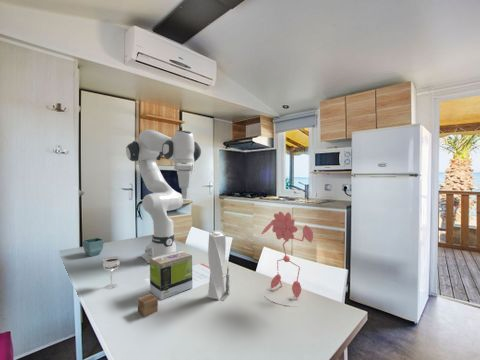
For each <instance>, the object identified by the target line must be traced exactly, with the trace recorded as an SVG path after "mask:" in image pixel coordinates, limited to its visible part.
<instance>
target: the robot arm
mask: <svg viewBox="0 0 480 360" xmlns="http://www.w3.org/2000/svg"><path fill="white" fill-rule="evenodd" d="M201 153H202V150H201V147H200V145H199V143H197V141H195V137H194V134H193V132H191V131H187V130H182V129H181V130H180V129H179V130H176V131H175V132H174V135H173V136H172V137H171V136H168V135H166V134H164V133H162V132H159V131H157V130H154V129H144V130H142V131H141V132H140V133H139V135H138V141H135V140H132V142H130V143H129V144H127V146H126V148H125V154H126V156H127V157H126V158H128V160H129V161H131V162H138V161H139V163H138V168H139V169H138V170H139V173H140V176H141V178H142V180H143V184H145V187H146V189H147V190H148V191H149V192H151V193H149V194H146V195H145V196H144V197H143V198H142V201H141V202H142V203H141V204H142V208H143V210H144V211H146V213H148V214H149V216H151V217H150V218H151V220H152V224H153V235H151V241H150V242H149V243H148V244H147V245H146V247H145V249H144V253H142V254H141V255H140V257H141V258H143V259H144V261H145V262H146V263H148V264H150V258H153V257H157V256H160V255H164V254H168V253H172V252H176V251H177V246H176V241H175V234H174V227H175V226H174V225H175V224H174V223H175V222H174V220H173V219H172V218H171V217H169V216H168V214H167V211H168V212H169V211H174V210H177V209H179V208H182V206H183V205H184V200H186V199H187V196H188V195H187V193H188V188H189V187H190V177H191V175H192V173H193V171H195V162H196V161H197V160H199V158H200V157H201V155H202V154H201ZM162 157H164V158H165V159H166V160H169V161H173V169H174V171H176V174H177V180H178V186H179V189H181V193H180V192H178V191H176V190H175V189H173V188H172V186H170V185H169V183H168V182H167V181H166V179H165V178H164V175H163V174H162V173H161V172H162V171H161V170H160V168H159V166H158V165H157V161H160V160H161V158H162Z"/></svg>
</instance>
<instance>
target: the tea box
mask: <svg viewBox="0 0 480 360" xmlns="http://www.w3.org/2000/svg"><path fill="white" fill-rule="evenodd" d="M192 288H193V255H192V254H190V253H187V252H185V251H182V250H176V252H172V253H168V254H164V255H160V256H157V257H153V258H150V263H149V289H150V290H149V291H150V292H151V294H152V295H154V296H155V297H157V298H158V300H163V299H167V298H169V297H171V296H174V295H177V294H180V293H182V292H185V291H186V290H187V291H188V290H190V289H192Z"/></svg>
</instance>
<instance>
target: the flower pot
mask: <svg viewBox="0 0 480 360" xmlns="http://www.w3.org/2000/svg"><path fill="white" fill-rule="evenodd" d="M104 245H105V240H104V239H103V238H99V237H95V238H89V239H88V238H87V239H83V240H82V247H83V250H84V253H85V254H86V255H87V256H89V257H94V256H98V255H100V254H101V252H102V251H103V249H104Z"/></svg>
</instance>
